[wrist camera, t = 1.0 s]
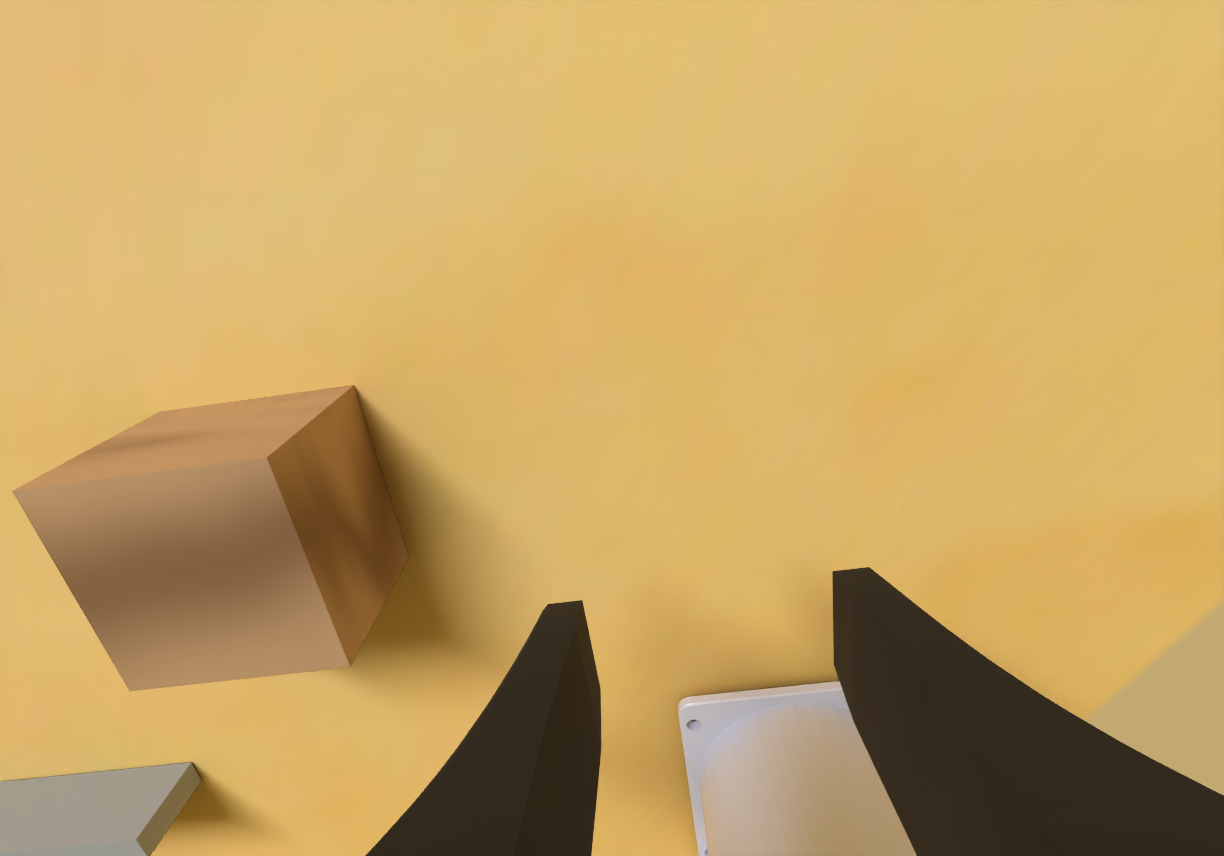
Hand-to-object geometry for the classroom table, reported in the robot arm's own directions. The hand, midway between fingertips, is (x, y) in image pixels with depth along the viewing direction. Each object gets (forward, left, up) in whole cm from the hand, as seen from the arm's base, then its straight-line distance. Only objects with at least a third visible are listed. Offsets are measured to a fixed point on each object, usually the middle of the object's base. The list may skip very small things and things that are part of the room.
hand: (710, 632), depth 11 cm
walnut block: (0, +12, -9) cm, 15 cm away
